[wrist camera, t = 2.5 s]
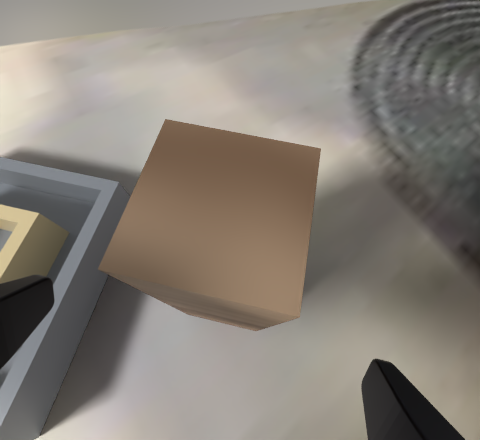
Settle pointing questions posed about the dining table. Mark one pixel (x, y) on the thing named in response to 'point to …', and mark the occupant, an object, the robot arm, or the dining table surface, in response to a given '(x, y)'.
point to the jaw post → (219, 225)
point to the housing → (58, 269)
